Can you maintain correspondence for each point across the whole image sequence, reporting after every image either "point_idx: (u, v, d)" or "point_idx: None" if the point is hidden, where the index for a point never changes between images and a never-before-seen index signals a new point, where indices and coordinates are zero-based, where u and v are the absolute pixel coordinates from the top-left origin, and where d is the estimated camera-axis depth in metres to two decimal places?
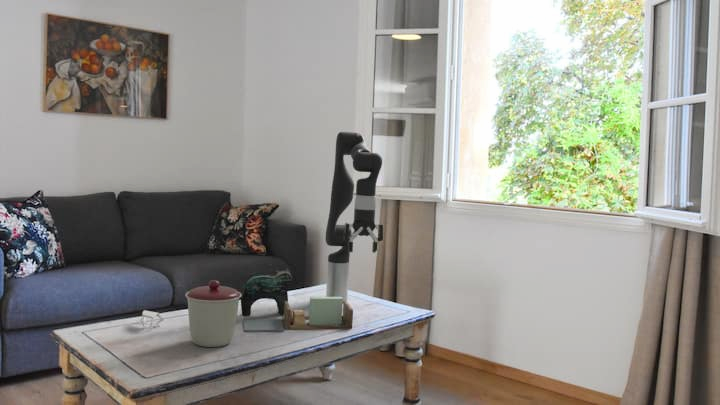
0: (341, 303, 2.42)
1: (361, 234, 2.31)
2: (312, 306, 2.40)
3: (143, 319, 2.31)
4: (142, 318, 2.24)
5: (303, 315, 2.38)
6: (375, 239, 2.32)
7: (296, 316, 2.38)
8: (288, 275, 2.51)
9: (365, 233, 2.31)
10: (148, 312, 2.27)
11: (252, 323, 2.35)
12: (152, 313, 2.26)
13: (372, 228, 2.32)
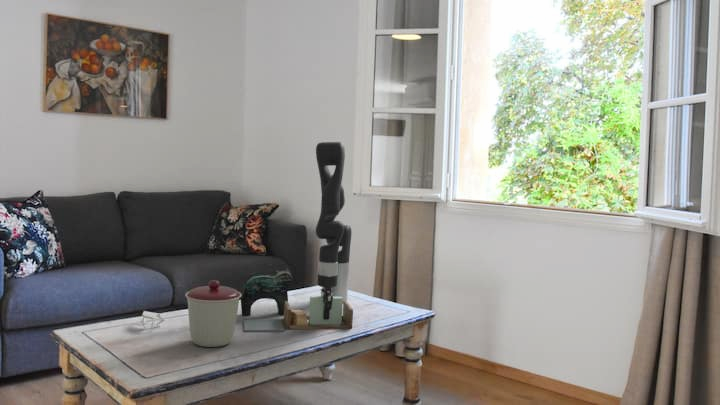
0: (341, 303, 2.42)
1: None
2: (312, 306, 2.40)
3: (143, 320, 2.30)
4: (143, 319, 2.23)
5: (304, 315, 2.39)
6: None
7: (298, 316, 2.38)
8: (288, 275, 2.51)
9: None
10: (148, 313, 2.26)
11: (252, 323, 2.35)
12: (152, 314, 2.25)
13: None
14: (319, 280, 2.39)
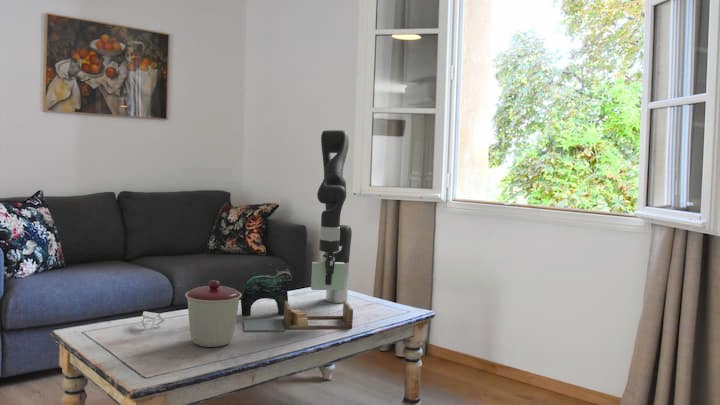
0: (343, 268, 2.41)
1: None
2: (314, 271, 2.39)
3: (143, 320, 2.29)
4: (143, 319, 2.22)
5: (305, 314, 2.39)
6: None
7: (298, 316, 2.38)
8: (288, 275, 2.51)
9: None
10: (149, 313, 2.26)
11: (252, 323, 2.35)
12: (153, 314, 2.25)
13: None
14: (321, 245, 2.38)
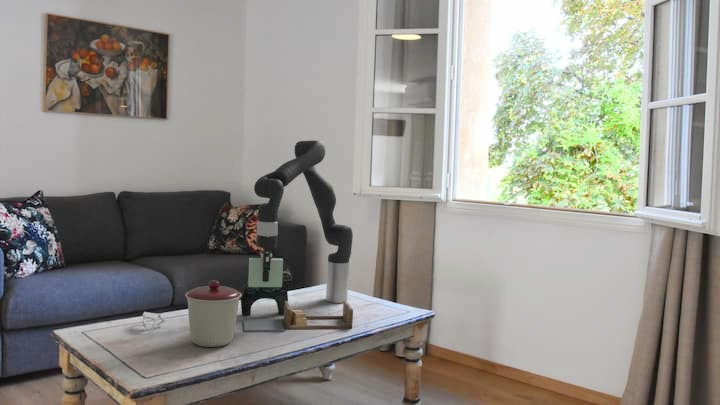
0: (281, 265, 2.33)
1: None
2: (251, 267, 2.31)
3: (143, 321, 2.29)
4: (144, 320, 2.22)
5: (304, 315, 2.39)
6: None
7: (297, 316, 2.38)
8: (288, 275, 2.51)
9: None
10: (149, 314, 2.25)
11: (252, 323, 2.35)
12: (153, 315, 2.24)
13: None
14: (258, 240, 2.30)
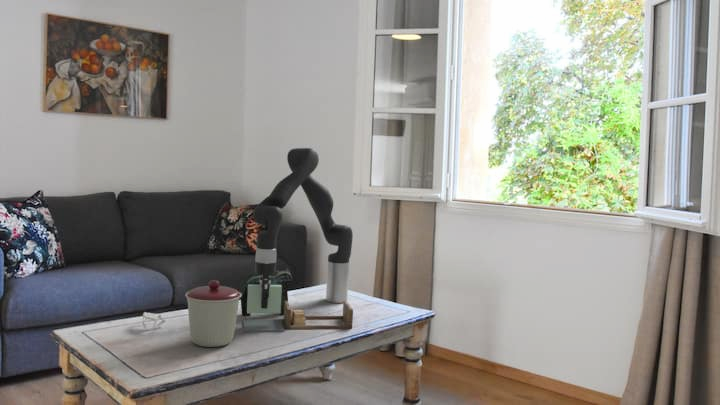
0: (280, 291, 2.34)
1: None
2: (249, 294, 2.31)
3: (143, 321, 2.28)
4: (144, 320, 2.21)
5: (303, 315, 2.38)
6: None
7: (296, 316, 2.38)
8: (288, 275, 2.51)
9: None
10: (149, 314, 2.25)
11: (252, 323, 2.35)
12: (153, 315, 2.24)
13: None
14: (256, 267, 2.31)
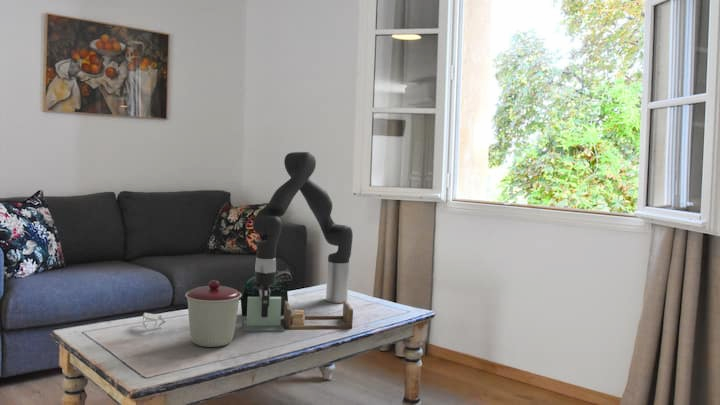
0: (280, 303, 2.34)
1: None
2: (249, 306, 2.32)
3: (143, 322, 2.28)
4: None
5: (302, 315, 2.38)
6: None
7: (295, 316, 2.38)
8: (288, 275, 2.51)
9: None
10: (150, 314, 2.24)
11: None
12: (154, 316, 2.23)
13: None
14: (256, 277, 2.31)
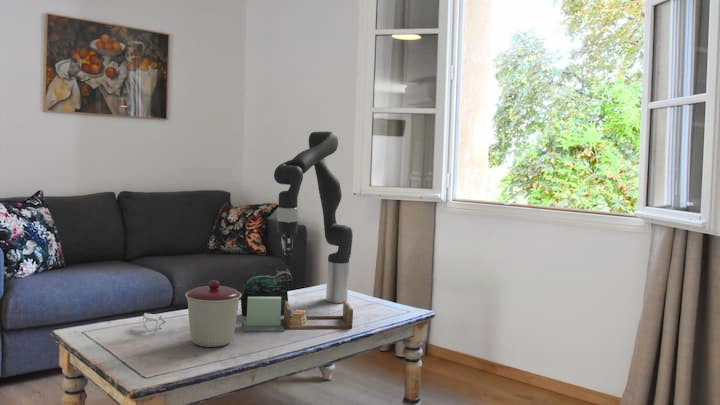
0: (280, 303, 2.34)
1: None
2: (249, 306, 2.32)
3: (144, 322, 2.27)
4: (145, 321, 2.20)
5: (301, 315, 2.38)
6: None
7: (294, 315, 2.38)
8: (288, 275, 2.51)
9: None
10: (150, 315, 2.24)
11: None
12: (154, 316, 2.23)
13: None
14: (278, 226, 2.35)
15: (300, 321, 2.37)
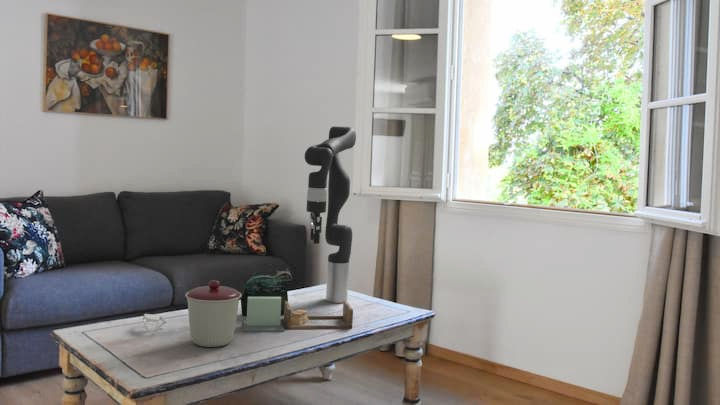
0: (280, 303, 2.34)
1: None
2: (249, 306, 2.32)
3: (144, 323, 2.27)
4: (146, 322, 2.20)
5: (300, 315, 2.38)
6: None
7: (293, 315, 2.39)
8: (288, 275, 2.51)
9: None
10: (150, 315, 2.23)
11: None
12: (155, 317, 2.22)
13: None
14: (308, 206, 2.43)
15: (298, 321, 2.37)
